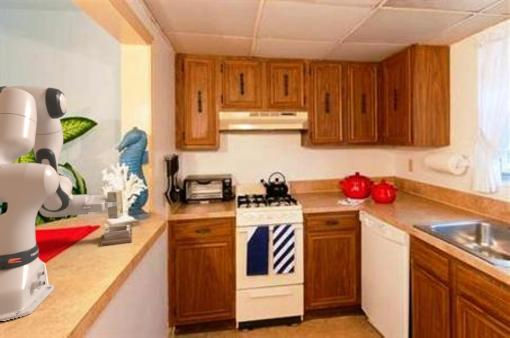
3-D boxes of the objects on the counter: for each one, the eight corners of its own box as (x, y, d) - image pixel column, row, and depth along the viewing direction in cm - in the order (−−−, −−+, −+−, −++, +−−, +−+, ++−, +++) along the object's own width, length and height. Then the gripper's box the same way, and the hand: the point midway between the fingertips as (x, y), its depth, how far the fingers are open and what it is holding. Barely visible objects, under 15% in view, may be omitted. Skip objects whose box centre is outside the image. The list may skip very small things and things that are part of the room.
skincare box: (117, 219, 140) (116, 192, 138) (108, 219, 140) (106, 192, 138) (123, 215, 146) (122, 189, 144) (114, 215, 146) (112, 189, 144)
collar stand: (131, 242, 137) (131, 232, 137) (101, 246, 133) (100, 236, 133) (132, 231, 154) (131, 222, 154) (105, 234, 150) (104, 225, 149)
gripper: (78, 201, 127) (115, 199, 132) (86, 193, 146) (118, 191, 151) (79, 217, 128) (116, 213, 133) (86, 206, 147) (118, 204, 152)
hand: (117, 201), depth 142 cm, fingers closed on skincare box, 7 cm apart
